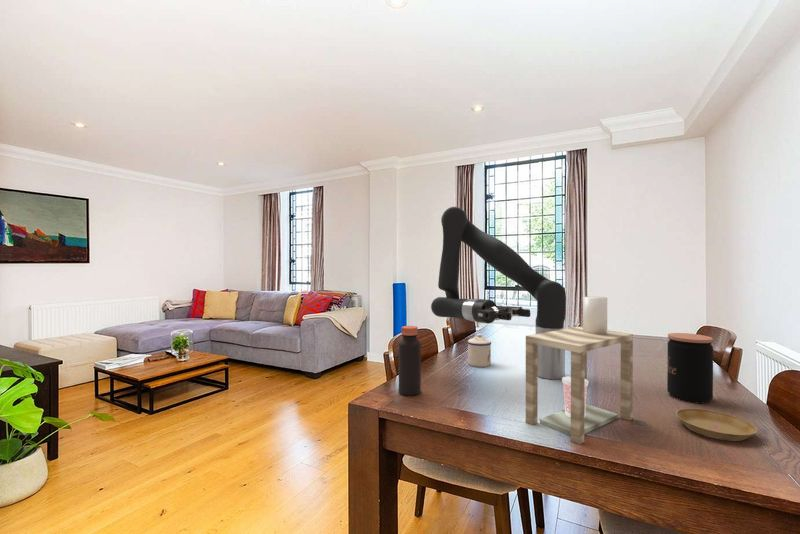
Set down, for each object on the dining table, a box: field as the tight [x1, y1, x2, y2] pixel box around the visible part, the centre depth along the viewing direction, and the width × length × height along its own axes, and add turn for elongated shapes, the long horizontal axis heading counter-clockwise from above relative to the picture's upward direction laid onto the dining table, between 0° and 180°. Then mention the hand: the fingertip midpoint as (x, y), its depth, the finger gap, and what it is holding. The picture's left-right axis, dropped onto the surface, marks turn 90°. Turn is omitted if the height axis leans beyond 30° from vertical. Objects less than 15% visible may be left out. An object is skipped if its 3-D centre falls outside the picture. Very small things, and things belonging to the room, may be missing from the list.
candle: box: [582, 296, 608, 334], centre depth 99 cm, size 6×6×9 cm
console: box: [525, 326, 634, 445], centre depth 95 cm, size 24×14×22 cm, turn 124°
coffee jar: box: [666, 332, 714, 404], centre depth 111 cm, size 11×11×18 cm
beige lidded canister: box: [467, 333, 492, 368], centre depth 150 cm, size 12×9×12 cm
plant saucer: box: [675, 407, 758, 442], centre depth 90 cm, size 15×15×3 cm
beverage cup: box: [561, 375, 589, 418], centre depth 96 cm, size 6×6×14 cm
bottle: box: [398, 325, 422, 397], centre depth 116 cm, size 7×7×20 cm
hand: (520, 314), depth 110 cm, fingers open, 8 cm apart
